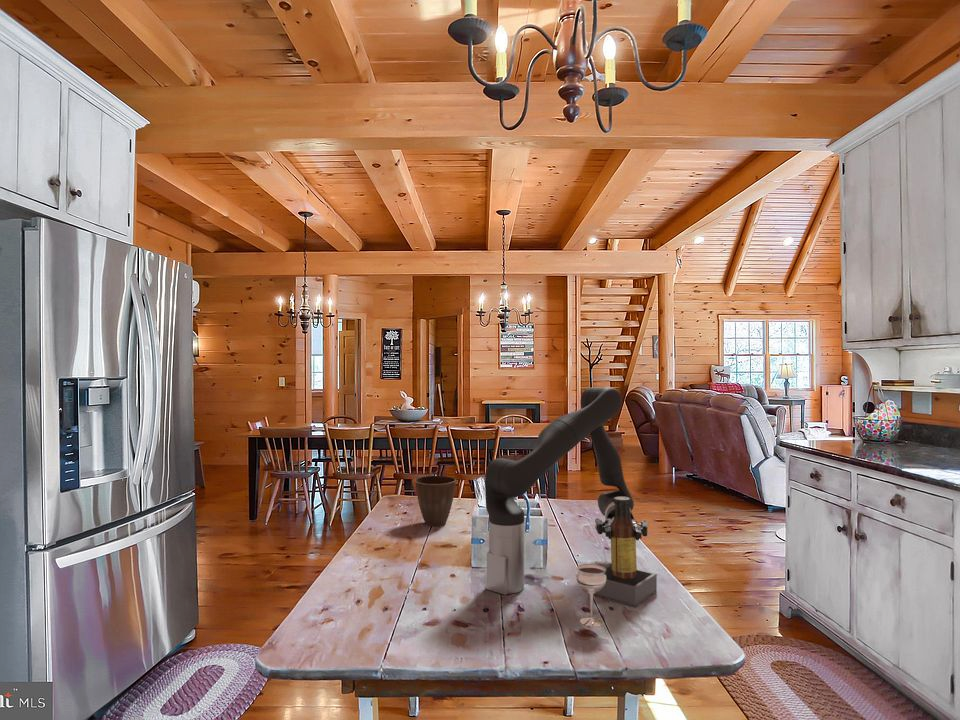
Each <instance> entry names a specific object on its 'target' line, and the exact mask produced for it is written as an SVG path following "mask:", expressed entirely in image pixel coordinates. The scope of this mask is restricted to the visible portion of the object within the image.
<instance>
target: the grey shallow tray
mask: <svg viewBox="0 0 960 720" xmlns="http://www.w3.org/2000/svg"><path fill="white" fill-rule="evenodd" d="M604 567H605V568H606V572H605V574H606V577H607V581H606V584H605V586H604V587H603V588H602V589H601V590H600V591H598V592H595V594H593V597H598V598H601V599H604V600H608V601H612V602H615V603H619V604H623V605H625V606H629V607H632V608H636V607H638V606H639V605H641V604H642V603H643V602H645V601H647V600H648V599H649V598H650V597H652V596H653V595H654V594H655V593H657V591H658V590H657V587H658V585H657V582H658V581H657V580H658V579H657V577H658V574H657V573H655V572H651V571H646V570H642V569H639V568H637V570H636V577H635V578H633V579H619V578H617V577H615V576H613V574H612V566H611V563H609V564H608V565H606V566H604Z"/></svg>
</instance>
